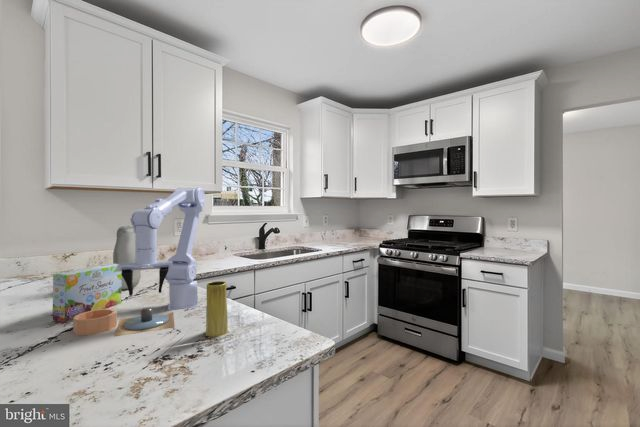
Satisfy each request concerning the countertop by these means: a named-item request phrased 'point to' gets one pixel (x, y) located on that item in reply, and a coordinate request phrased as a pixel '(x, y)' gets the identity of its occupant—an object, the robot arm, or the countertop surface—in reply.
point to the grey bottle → (126, 252)
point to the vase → (216, 309)
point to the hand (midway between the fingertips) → (145, 293)
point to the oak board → (123, 331)
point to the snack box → (85, 291)
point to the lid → (146, 320)
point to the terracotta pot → (94, 321)
